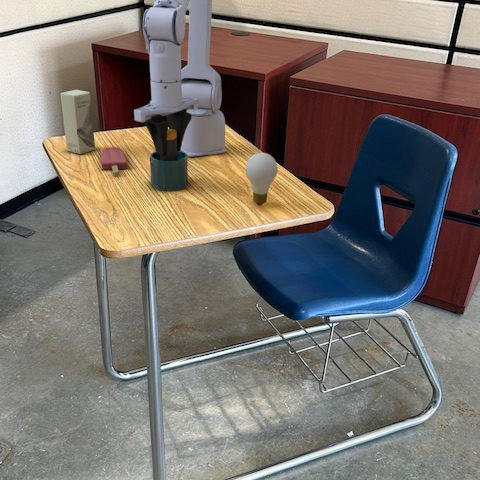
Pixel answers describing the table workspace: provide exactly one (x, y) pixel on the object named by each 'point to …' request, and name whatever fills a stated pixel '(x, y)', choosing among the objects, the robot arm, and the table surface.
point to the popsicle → (113, 159)
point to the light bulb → (261, 175)
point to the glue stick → (170, 146)
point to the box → (78, 121)
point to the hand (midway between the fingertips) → (168, 151)
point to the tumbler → (169, 172)
